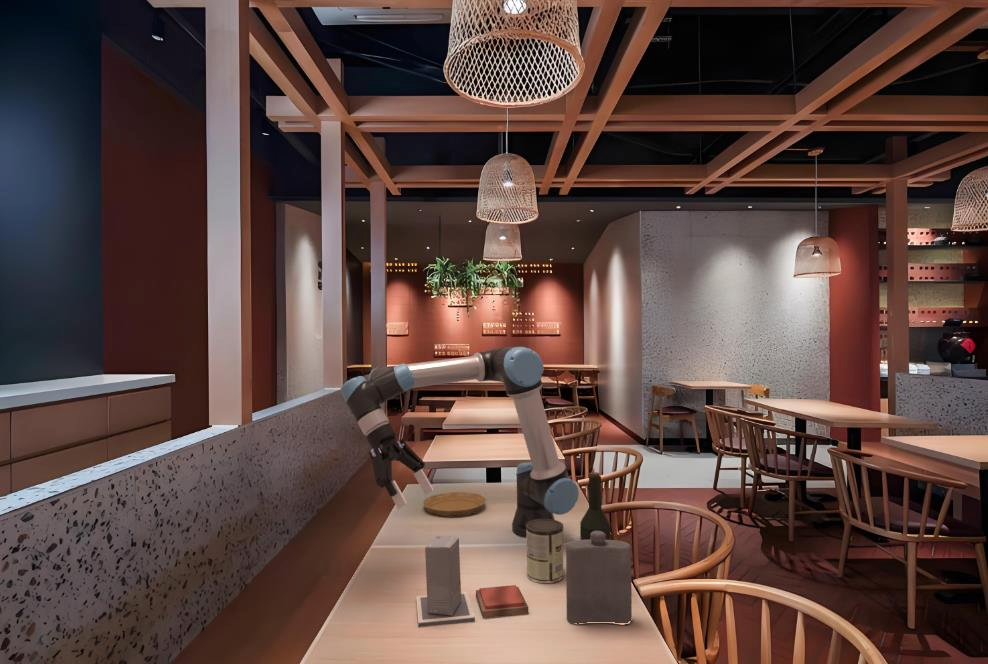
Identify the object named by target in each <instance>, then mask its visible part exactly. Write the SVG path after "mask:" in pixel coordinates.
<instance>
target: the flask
mask: <svg viewBox="0 0 988 664" xmlns="http://www.w3.org/2000/svg"><path fill="white" fill-rule="evenodd" d="M565 557H566V558H565V559H566V560H565V561H566V562H565V563H566V564H565V565H566V566H565V568H566V569H565V573H566V575H565V579H566V580H565V581H566V589H565V590H566V620H567V621H568V622H569V621H570V622H572V623H577V624H579V623H587V622H615V623H628V622H629V621H631V619H632V620H633V618H632V617H633V616H632V613H633V612H632V610H633V609H632V605H633V604H632V545H631V544H629V542H626V541H623V540H617V539H611V540H606V534H605V533H604V532H602V531H593V532H591V533H590V539H588V540H581V539H576V540H575V539H574V540H570V541H568V542H567V543H566V544H565ZM570 622H569V623H570ZM572 623H571V624H572Z"/></svg>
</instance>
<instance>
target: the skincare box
mask: <svg viewBox="0 0 988 664" xmlns="http://www.w3.org/2000/svg"><path fill="white" fill-rule="evenodd" d="M424 553H425V554H424V556H425V578H426V582H425V583H426V595H427V609H428V613H431V614H443V615H450V616H453V613H454V612H455V610H456V609H457V607H458V606H459V604H460V602H461V592H462V588H461V587H462V586H461V585H462V583H461V581H462V580H461V562H460V561H461V559H460V537H459V536H437V535H436V536H435V537H433V539H431V540H429V542H428V543H427V544H426V545H425V548H424Z"/></svg>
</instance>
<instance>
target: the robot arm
mask: <svg viewBox="0 0 988 664" xmlns="http://www.w3.org/2000/svg"><path fill="white" fill-rule="evenodd" d="M543 374H544V363H543V360H542V358H541V356H540V355H539V354H538V352H536V351H535V350H533V349H531V348H527V347H525V346H503V347H498V348H495V349H489V350H483V351H479V352H475V353H474V354H473V355H471V356H463V357H455V358H447V359H439V360H438V359H437V360H432V361H431V360H430V361H423V362H416V363H400V364H398V365H390V366H384V365H383V366H382V365H381V366H377V367H374V368H373V369H372V370H371V371H370V373H369V375H368V380H367V379H365V377H364V376H362V375H359V376H356V377H352V378H350V379H348V380H347V381H346V382H344V383H343V385H342V386H341V388H340V393H341V396H342V397H343V400H344V402H345V405H347V407H348V409H349V411H350V412H351V413H350V414H352V417H353V418H354V420H355V421H356V423H357V424H358V426H359V428H360V430H361V432H362V433H363V435H364V436H366V438H365V439H366V441H367V443H368V445H369V447H370V448H371V450H369V451H368V454H369V456H370V459H371V462H372V463H371V464H372V469H373V474H374V478H375V483H376V485H377V486H378V487H380V488H385V489H386V491H387V493H388V495H389V496H390V497H391V499H392V501H393V502H394V504H395V506H396V508H397V509H398V510H399V509H401V508H403V507H404V506H406V504H408V501H407V499H406V498H405V496H404V494H403V492H402V491H401V489H400V487H399V486H398V484H397V482H396V480H395V479H394V480H392V479H393V474H392V469H393V468H392V462H394V461H396V462H398V461H399V462H400V463H401V464H402V465H404V466H406V467H407V468H408V469H410V470H411V471H412V472H414V473H413V476H414V478H415V479H416V481H417V482H418V483H417V484H418V485H419V486H420V489H421V490H422V491H423V493H424V495H425V496H426V495H428V494H429V493H432V491H434V488H433V486H432V483H430V480H429V479H428V476H427V475H426V473H425V472H424V468H425V467H426V465H425V464H426V463H425V462H424V461H423V460H422V458H420V457H419V456H418V454H416V452H415V451H414V450H413V449H412V448H410V446H409V445H408V444H407V443H406V441H405V439H403V438H401V439H400V440H398V441H397V440H396V438H395V437H396V436H397V432H396V430H395V429H394V427H393V426H392V425H393V424H391V423H390V420H389V418H388V417H387V414H386V413H385V411H384V410H383V408H382V407H381V405H382V404H384V403H386V402H387V401H389V400H392V399H393V398H395V397H397V396H399V395H400V394H403V393H405V392H407V391H408V390H410V389H415V388H421V387H429V386H436V385H443V384H451V383H457V382H459V383H460V382H465V381H472V380H473V381H474V380H476V381H478V383H479V382H480V383H481V382H500V383H503V386H504V390H505V394H506V396H508V397H510V398H511V399H513V404H514V407H515V410H516V413H517V418H518V421H519V424H520V428H521V430H522V431H521V432H522V434H523V439H524V441H525V445H526V448H527V451H528V455H529V457H530V461H529V462H521V463H519V464H518V465H517V467H516V473H515V475H516V510H515V513H514V516H513V520H512V523H511V531H512V533H513V534H514V535H517V536H519V537H523V538H526V523H527V522H529V521H531V520H535V519H552V520H556V519H555V516H554V515H558V516H562V515H565V514H567V513H569V512H570V511H571V510H572V509H573V508H574V507H575V506H576V503H577V502H578V499H579V493H580V491H579V488H578V485H577V483H576V482H575V481H574V480H573V479H572V478H570V476H569V473H568V469H567V466H566V463H564V462H562V461H560V458H559V455H558V453H557V449H556V445H555V441H554V438H553V434H552V431H551V428H550V424H549V421H548V418H547V417H548V416H547V413H546V410H545V407H544V403H543V399H542V396H541V393H540V391H541V389H542V386H543V382H542V378H543V376H542V375H543Z"/></svg>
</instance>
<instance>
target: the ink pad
mask: <svg viewBox="0 0 988 664" xmlns="http://www.w3.org/2000/svg"><path fill="white" fill-rule="evenodd" d="M475 598H476V601H477V604H478V607H479V611H480V615H481V617H482V619H488V618H489V619H490V618H500V617H510V616H520V615H529V605H528V603H527V602H526V599H525V598H524V595H523V593H522V591H521V590H520V586H517V585H516V584H514V585H512V584H511V585H503V586H490V587H480V588H479V589H477V590H475Z"/></svg>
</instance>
